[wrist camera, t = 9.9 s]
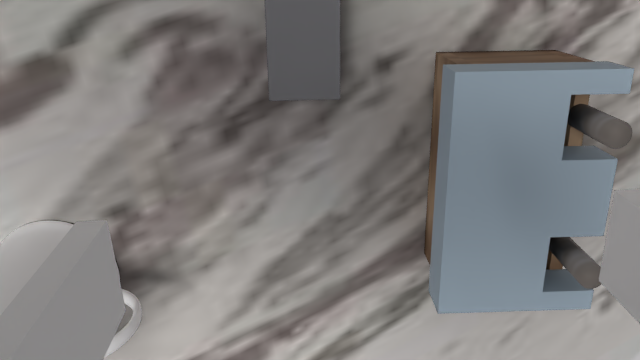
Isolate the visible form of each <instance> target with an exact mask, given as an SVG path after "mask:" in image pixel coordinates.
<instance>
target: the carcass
mask: <svg viewBox="0 0 640 360" xmlns="http://www.w3.org/2000/svg"><path fill="white" fill-rule="evenodd" d="M554 62H595V61H591V60H588V59H584V58H581V57H577V56H574V55H570V54H567V53H563V52H560V51H556V50H534V51H479V52H436V61H435V78H434V95H433V112H432V129H431V146H430V163H429V181H428V198H427V215H426V232H425V249H424V253H425V255H426V258H427V260H428V262H429V264H430V262H431V246H432V230H433V215H434V199H435V183H436V167H437V152H438V136H439V120H440V104H441V88H442V73H443V65H447V64H501V63H554ZM589 96H590V94H582V95H571V100H570V107H569V114H568V121H567V128H566V134H565V141H564V146H582V140H583V134H586V135H588V136H590V137H591V138H593V139H595V140H597V141H599V142H600V143H602V144H604V145H606V146H608V147H610V148H613V149H618V148H621V147H623V146H625V145H626V144H627V143H628V142H629V141H630V139H631V137H632V128H631V126H630V125H629V124H628V123H626V122H624V121H622V120H620V119H617V118H615V117H613V116H611V115H608V114H606V113H604V112H602V111H599V110H597V109H595V108H593V107H590V106H588V102H589ZM563 266H564V267H565V268H566V269H567V270H568V271H569V272H570V273H571V275H572V276H573V277H574V278H575V279H576V280H577V281H578V282H579V283H580V284H581V285H582V286H583V287H584V288H587V289H593V288H596V287H598V286H600V285H601V283H600V282H599V275H600V269H601V267H600V266H599V265H598V264H597V263H596V262H595V261H594V260H593V259H592V258H590V257H589V256H588V255H587V254H586V253H585V252H584V251H583V250H582V249H581V248H580V247H579V246H578V245H577V244H576V243H575V242H574V241H573V240H572V239H571V238H570V237H550V244H549V251H548V257H547V264H546V270H555V269H562V267H563Z"/></svg>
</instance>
